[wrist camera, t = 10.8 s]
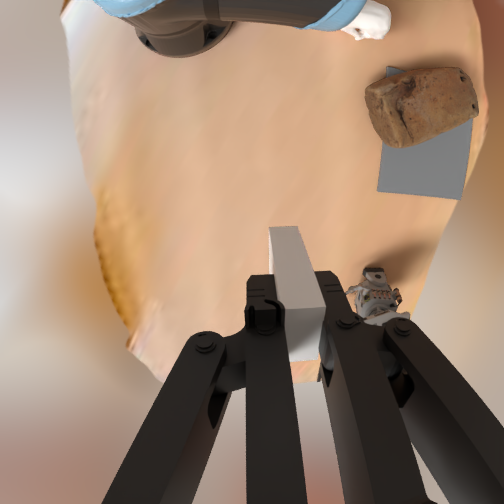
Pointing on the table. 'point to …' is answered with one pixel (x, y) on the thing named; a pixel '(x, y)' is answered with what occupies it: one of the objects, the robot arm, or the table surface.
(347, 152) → the table surface
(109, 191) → the table surface
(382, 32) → the white lumpy piece
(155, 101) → the table surface
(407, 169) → the mat
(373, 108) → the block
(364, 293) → the figurine
